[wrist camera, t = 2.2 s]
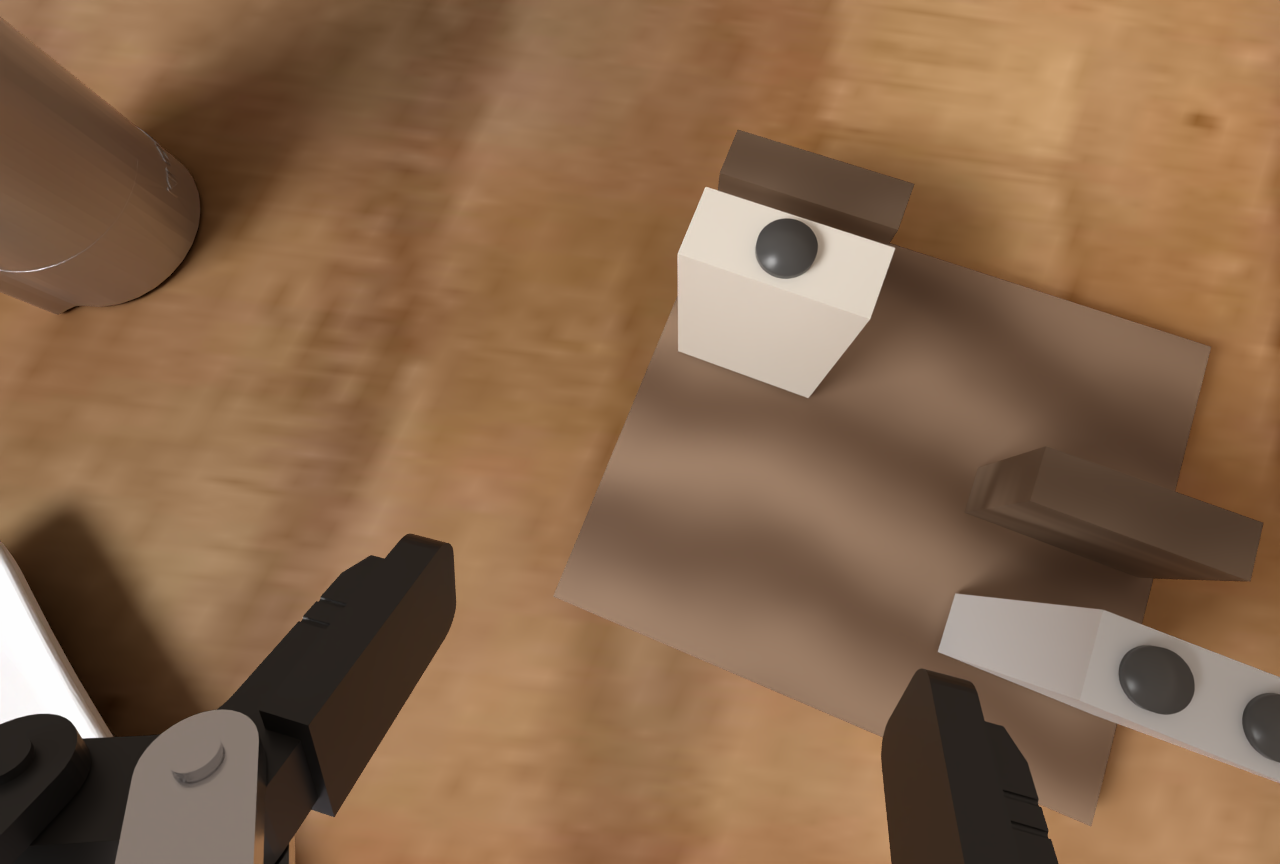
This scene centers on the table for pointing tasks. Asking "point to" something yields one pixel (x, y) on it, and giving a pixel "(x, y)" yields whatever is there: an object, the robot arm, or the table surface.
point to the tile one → (773, 291)
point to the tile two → (1124, 675)
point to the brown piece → (905, 485)
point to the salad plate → (37, 661)
